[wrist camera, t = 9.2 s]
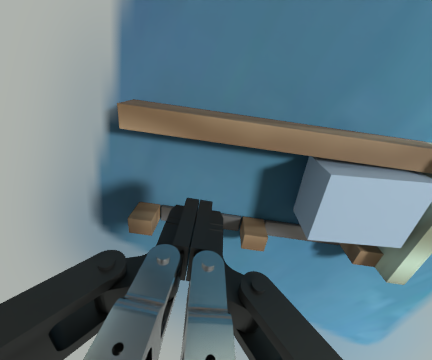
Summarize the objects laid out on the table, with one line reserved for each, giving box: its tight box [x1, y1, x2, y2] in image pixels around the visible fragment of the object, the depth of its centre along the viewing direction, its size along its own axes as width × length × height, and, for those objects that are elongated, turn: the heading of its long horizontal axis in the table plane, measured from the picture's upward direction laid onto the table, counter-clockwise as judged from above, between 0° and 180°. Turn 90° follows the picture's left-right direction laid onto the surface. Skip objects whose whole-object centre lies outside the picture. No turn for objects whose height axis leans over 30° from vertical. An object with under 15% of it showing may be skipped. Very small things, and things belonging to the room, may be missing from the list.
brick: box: [293, 156, 432, 248], centre depth 16 cm, size 6×7×4 cm
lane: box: [117, 100, 432, 285], centre depth 16 cm, size 11×24×4 cm, turn 82°
